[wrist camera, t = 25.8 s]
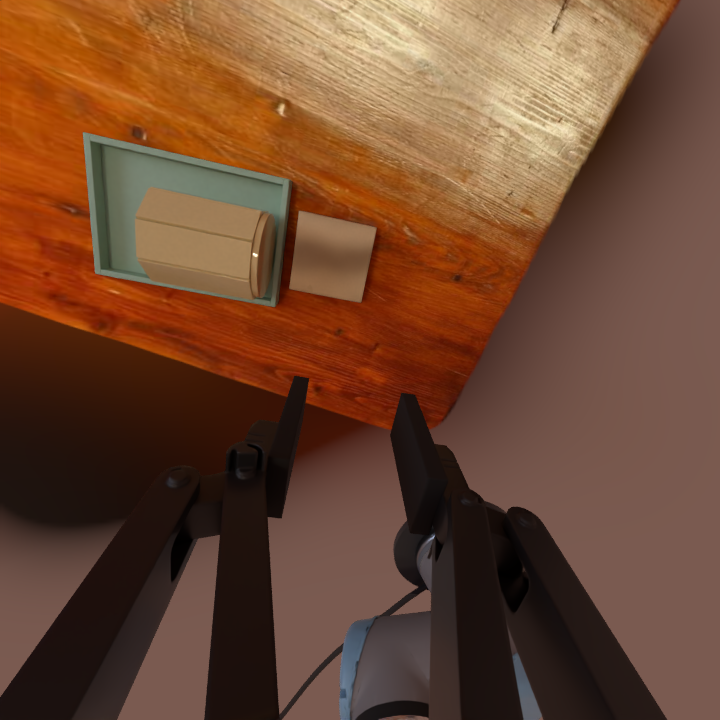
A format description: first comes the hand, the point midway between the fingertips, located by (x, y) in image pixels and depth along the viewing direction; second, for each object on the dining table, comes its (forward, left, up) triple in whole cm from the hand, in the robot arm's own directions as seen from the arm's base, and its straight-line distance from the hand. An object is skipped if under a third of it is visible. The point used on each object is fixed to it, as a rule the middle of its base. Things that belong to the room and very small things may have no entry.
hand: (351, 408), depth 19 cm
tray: (+5, +18, -25) cm, 31 cm away
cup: (+4, +9, -20) cm, 22 cm away
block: (+5, +3, -25) cm, 25 cm away
